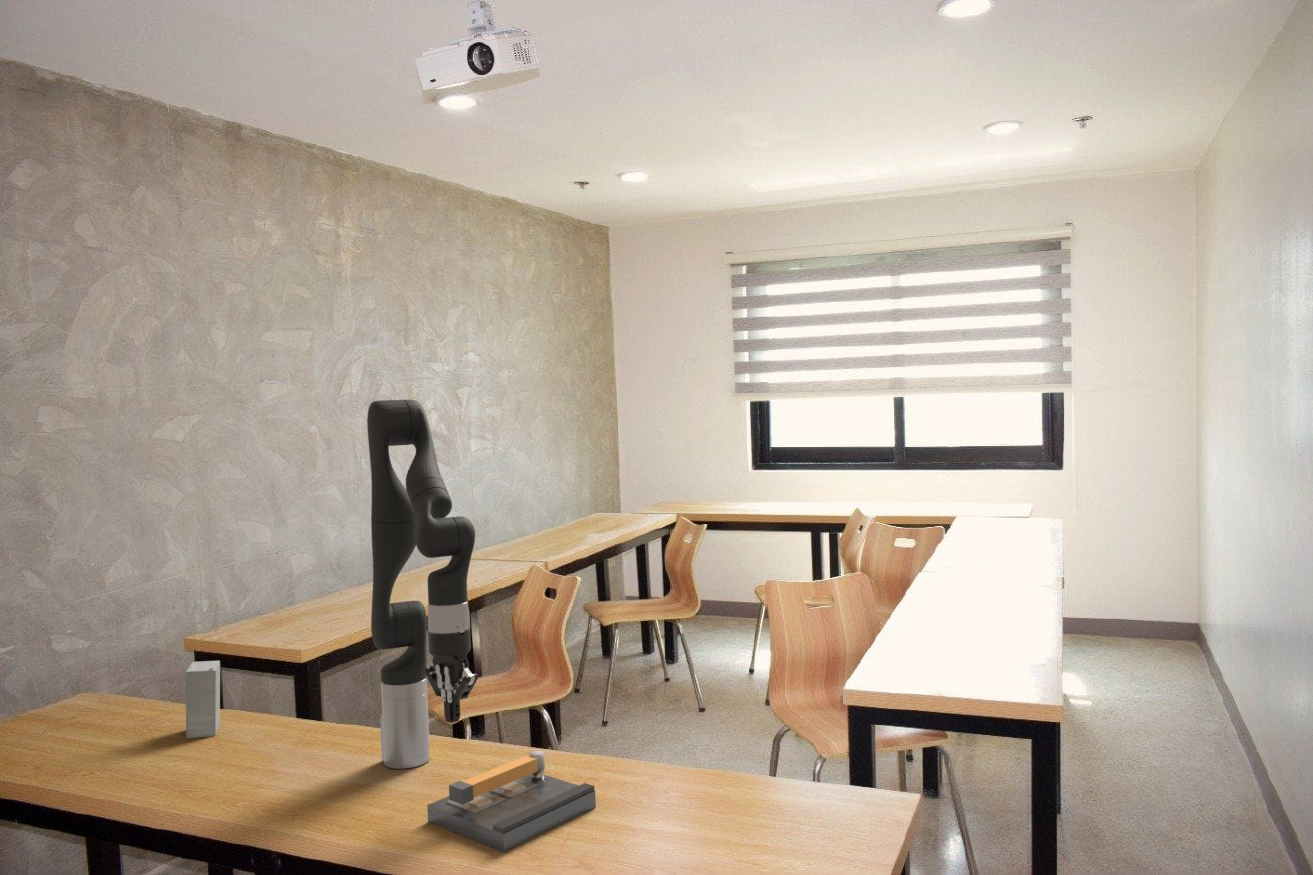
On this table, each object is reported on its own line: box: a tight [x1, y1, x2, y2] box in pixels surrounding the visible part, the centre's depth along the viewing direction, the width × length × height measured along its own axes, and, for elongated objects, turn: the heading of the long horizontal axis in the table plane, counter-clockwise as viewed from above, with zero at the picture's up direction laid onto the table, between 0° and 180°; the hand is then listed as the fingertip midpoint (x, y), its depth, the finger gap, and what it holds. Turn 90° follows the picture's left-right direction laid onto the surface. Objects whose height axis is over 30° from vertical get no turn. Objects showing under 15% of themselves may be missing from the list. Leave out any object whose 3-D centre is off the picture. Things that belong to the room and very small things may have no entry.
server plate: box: [426, 769, 597, 853], centre depth 173 cm, size 20×22×4 cm
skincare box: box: [185, 660, 221, 740], centre depth 224 cm, size 8×7×16 cm
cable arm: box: [448, 750, 546, 805], centre depth 176 cm, size 4×21×3 cm, turn 140°
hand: (452, 721), depth 177 cm, fingers closed
